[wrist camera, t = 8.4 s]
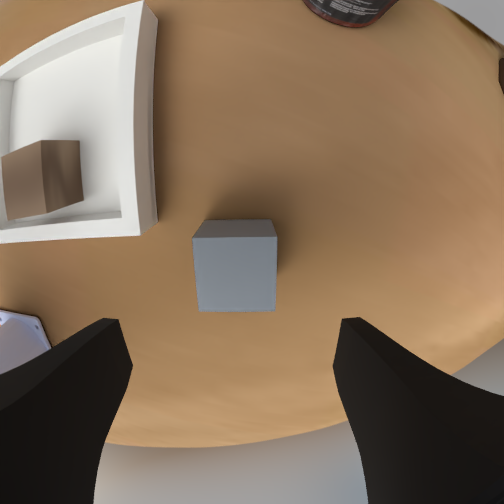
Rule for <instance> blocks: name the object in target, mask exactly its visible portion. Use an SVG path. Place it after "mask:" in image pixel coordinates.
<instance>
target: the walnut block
mask: <svg viewBox="0 0 504 504" xmlns="http://www.w3.org/2000/svg"><path fill="white" fill-rule="evenodd" d="M1 163H2V180H3V191H4V200H5V207H6V214H7V221H9V220H14V219H20V218H25V217H30V216H36V215H42V214H47V213H50V212H53V211H55V210H58V209H61V208H64V207H66V206H69V205H72V204H75V203H78V202H81V201H84V196H83V187H82V176H81V161H80V140H40V141H37V142H35V143H32V144H30V145H27V146H25V147H22V148H20V149H18V150H15V151H13V152H11V153H9V154H6V155H4V156H2V157H1Z"/></svg>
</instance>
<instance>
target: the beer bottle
mask: <svg viewBox="0 0 504 504" xmlns="http://www.w3.org/2000/svg"><path fill="white" fill-rule="evenodd" d="M499 83H500V85H501V88H502V91H503V94H504V58H503V59H500V61H499Z"/></svg>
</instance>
